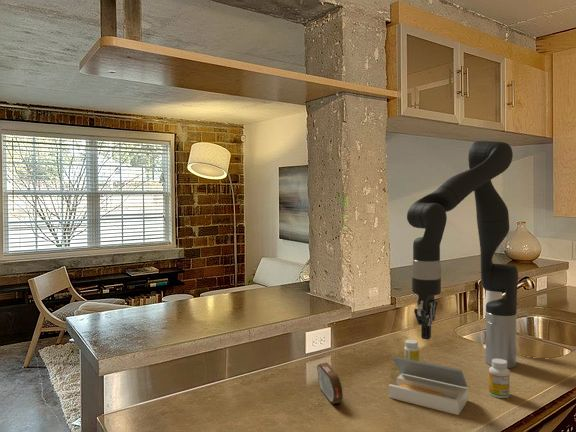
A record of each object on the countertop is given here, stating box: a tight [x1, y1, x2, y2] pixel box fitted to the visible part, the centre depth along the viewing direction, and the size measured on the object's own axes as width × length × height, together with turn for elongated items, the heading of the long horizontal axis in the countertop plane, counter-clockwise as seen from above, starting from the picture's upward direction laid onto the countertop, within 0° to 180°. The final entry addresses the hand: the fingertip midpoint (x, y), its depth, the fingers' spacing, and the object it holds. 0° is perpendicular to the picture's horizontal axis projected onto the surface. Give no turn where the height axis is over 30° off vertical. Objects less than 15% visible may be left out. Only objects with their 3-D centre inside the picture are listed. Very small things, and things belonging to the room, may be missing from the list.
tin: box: [316, 361, 344, 405], centre depth 132 cm, size 15×3×8 cm, turn 14°
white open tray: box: [388, 373, 469, 416], centre depth 129 cm, size 10×19×4 cm, turn 55°
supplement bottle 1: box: [403, 339, 420, 361], centre depth 153 cm, size 5×5×8 cm
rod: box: [400, 385, 444, 397], centre depth 130 cm, size 3×13×3 cm, turn 59°
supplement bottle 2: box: [488, 359, 511, 399], centre depth 131 cm, size 5×5×10 cm
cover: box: [391, 355, 469, 388], centre depth 130 cm, size 10×19×1 cm
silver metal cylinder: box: [483, 290, 503, 349], centre depth 169 cm, size 7×7×24 cm
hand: (426, 338), depth 127 cm, fingers closed
